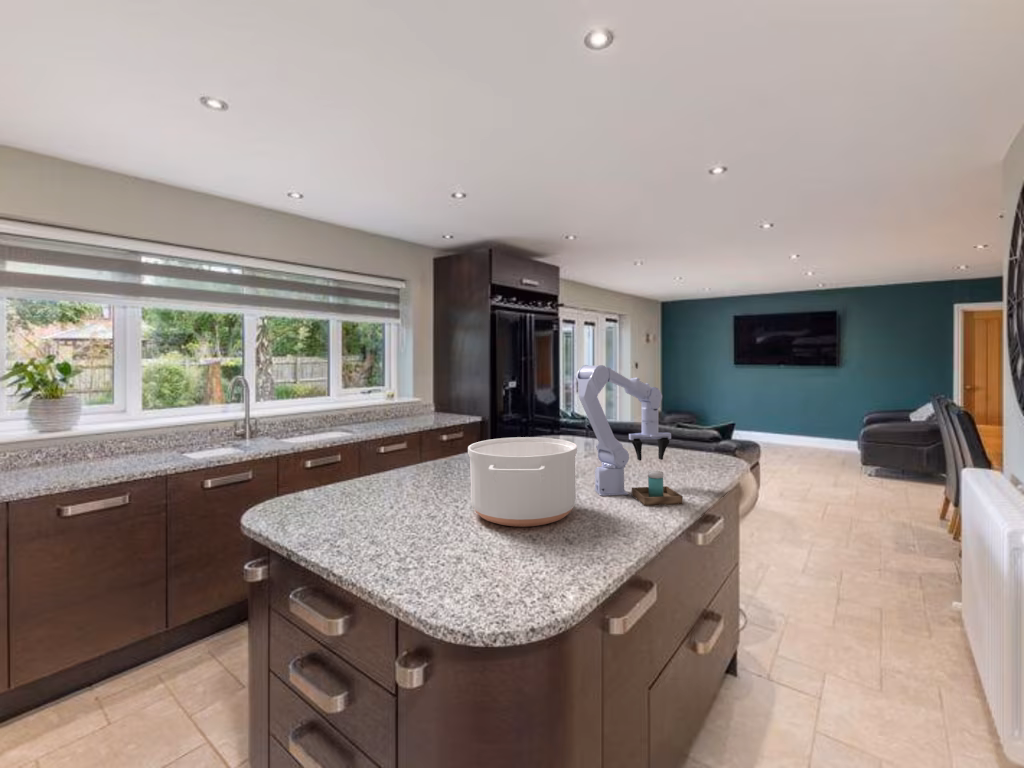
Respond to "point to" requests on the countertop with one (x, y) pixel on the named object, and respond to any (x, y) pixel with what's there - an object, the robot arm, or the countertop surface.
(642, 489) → the tray
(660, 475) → the shaker
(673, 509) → the countertop surface
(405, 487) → the countertop surface
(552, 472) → the pot
